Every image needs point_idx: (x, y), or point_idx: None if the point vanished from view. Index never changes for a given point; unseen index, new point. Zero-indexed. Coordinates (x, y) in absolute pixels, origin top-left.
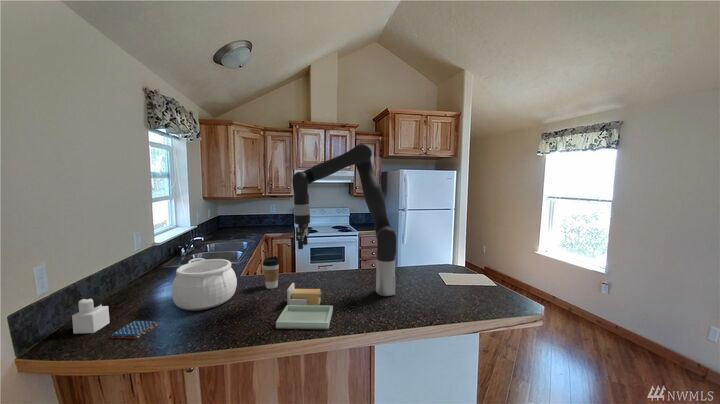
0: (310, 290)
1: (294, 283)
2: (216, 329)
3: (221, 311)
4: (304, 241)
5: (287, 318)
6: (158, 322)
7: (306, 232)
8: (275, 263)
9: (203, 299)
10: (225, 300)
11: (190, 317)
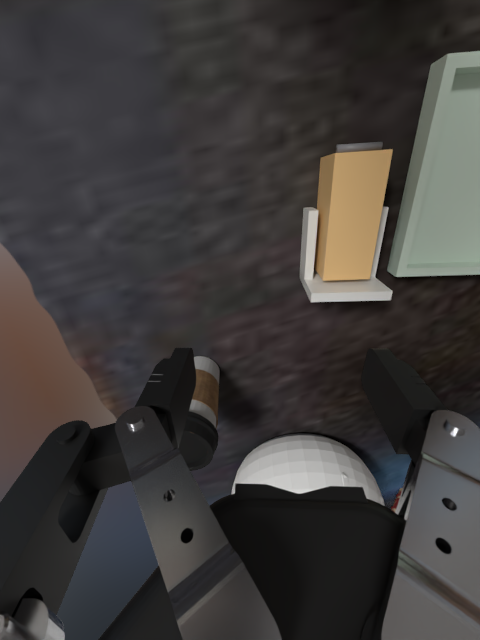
0: (347, 204)
1: (311, 292)
2: (454, 399)
3: (362, 423)
4: (186, 393)
5: (459, 249)
6: (399, 491)
7: (201, 495)
8: (198, 423)
9: (374, 479)
10: (326, 438)
11: (382, 459)
